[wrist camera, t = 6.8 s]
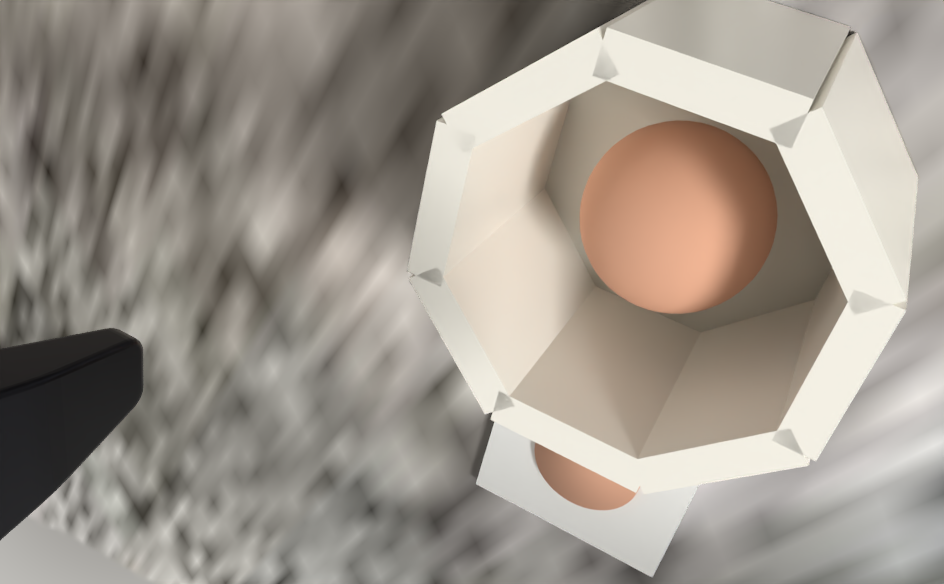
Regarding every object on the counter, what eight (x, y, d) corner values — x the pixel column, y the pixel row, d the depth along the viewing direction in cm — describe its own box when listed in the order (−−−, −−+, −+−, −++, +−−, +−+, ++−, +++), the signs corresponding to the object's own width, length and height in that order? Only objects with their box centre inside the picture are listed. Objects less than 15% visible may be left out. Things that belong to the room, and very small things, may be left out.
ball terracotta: (821, 137, 18) (797, 203, 15) (748, 292, 20) (713, 379, 17) (642, 73, 19) (583, 122, 16) (591, 228, 21) (530, 298, 18)
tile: (728, 425, 23) (724, 435, 22) (654, 570, 26) (650, 582, 25) (525, 330, 24) (517, 338, 24) (479, 478, 27) (472, 487, 27)
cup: (982, 69, 17) (995, 162, 12) (802, 393, 21) (759, 554, 16) (587, -59, 19) (464, -23, 14) (501, 259, 23) (387, 367, 19)
